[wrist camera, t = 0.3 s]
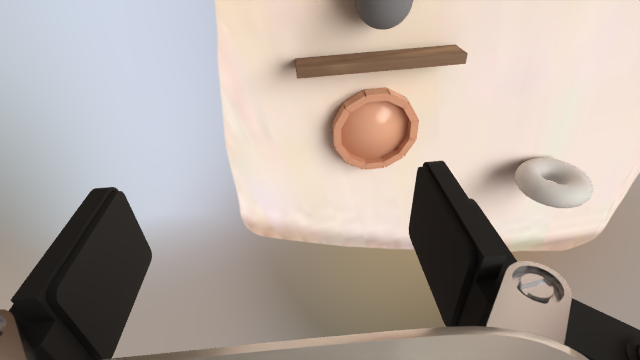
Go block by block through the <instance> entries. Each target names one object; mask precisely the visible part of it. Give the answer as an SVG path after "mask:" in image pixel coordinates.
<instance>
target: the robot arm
mask: <svg viewBox="0 0 640 360" xmlns="http://www.w3.org/2000/svg"><path fill="white" fill-rule="evenodd" d="M409 235H410V239H411V241H412V244H413V246H414V249H415V251H416V254H417V256H418V259H419V261H420V264H421V266H422V269H423V271H424V274H425V276H426V279H427V281H428V284H429V286H430V289H431V291H432V294H433V296H434V299H435V301H436V304H437V306H438V309H439V311H440V314H441V316H442V319H443V321H444V323H445V325H446V327H438V328H425V329H412V330H398V331H387V332H376V333H365V334H354V335H344V336H334V337H323V338H312V339H301V340H291V341H281V342H271V343H260V344H251V345H241V346H231V347H220V348H210V349H201V350H190V351H181V352H171V353H162V354H152V355H142V356H133V357H123V358H114V359H111V358H112V356H113V354H114V352H115V349H116V347H117V344H118V342H119V339H120V337H121V334H122V332H123V329H124V327H125V324H126V322H127V319H128V317H129V314H130V312H131V310H132V307H133V305H134V302H135V300H136V297H137V294H138V292H139V289H140V287H141V285H142V282H143V280H144V277H145V275H146V272H147V270H148V267H149V265H150V262H151V259H152V253H151V249H150V247H149V245H148V243H147V241H146V239H145V236H144V234H143V232H142V230H141V228H140V226H139V224H138V222H137V220H136V218H135V216H134V213H133V211H132V209H131V207H130V205H129V203H128V201H127V199H126V196H125V194H124V193H123V192H122V191H118V189H116V188H114V187H109V188H95V189H93V190H92V191H91V192H90V193H89V194H88V196H87V197H86V199H85V200H84V201H83V203H82V204H81V205H80V207H79V208H78V209H77V211H76V212H75V213H74V215H73V216H72V218H71V219H70V220H69V222H68V223H67V224H66V226H65V227H64V228H63V230H62V231H61V233H60V234H59V235H58V237H57V238H56V239H55V241H54V242H53V243H52V245H51V246H50V247H49V249H48V250H47V251H46V253H45V254H44V256H43V257H42V258H41V260H40V261H39V262H38V264H37V265H36V266H35V268H34V269H33V270H32V272H31V273H30V275H29V276H28V277H27V279H26V280H25V281H24V283H23V284H22V285H21V287H20V288H19V290H18V291H17V292H16V294H15V295H14V296H13V298H12V299H11V301H12V302H13V303H14V304H13V306H12V308H11V309H10V310H9V311H7V310H0V360H640V330H638V329H636V328H634V327H632V326H630V325H628V324H626V323H624V322H621V321H619V320H617V319H615V318H613V317H611V316H609V315H606V314H604V313H602V312H600V311H598V310H596V309H594V308H592V307H589V306H587V305H585V304H583V303H581V302H579V301H577V300H575V299H572V293H571V289H570V287H569V285H568V283H567V282H566V281H565V280H564V279H563V277H562V276H561V275H559V274H558V273H557V272H555V271H554V270H553V269H551V268H548V267H547V266H545V265H542V264H539V263H536V262H530V261H521V262H517V260H516V259H515V258H514V256H513V255H512V253H511V252H510V250H509V249H508V247H507V246H506V245H505V243H504V242H503V240H502V239H501V237H500V236H499V234H498V233H497V232H496V230H495V229H494V227H493V226H492V224H491V223H490V221H489V220H488V219H487V217H486V216H485V214H484V213H483V211H482V210H481V208H480V207H479V206H478V204H477V203H476V202H475V201H474V200H473V199H469V198H468V196H467V195H466V193H465V192H464V190H463V189H462V188H461V186H460V185H459V183H458V182H457V180H456V179H455V177H454V176H453V174H452V173H451V171H450V170H449V168H448V167H447V165H446V164H445V163H444V161H434V162H425V163H424V164H423V167H419V168H418V170H417V176H416V183H415V190H414V196H413V203H412V210H411V216H410V223H409Z"/></svg>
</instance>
